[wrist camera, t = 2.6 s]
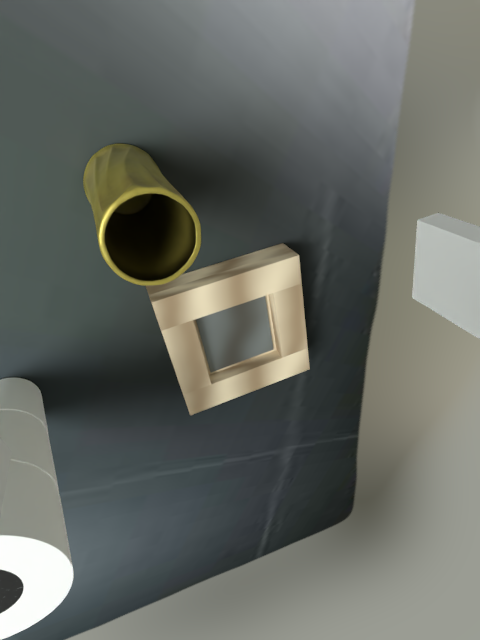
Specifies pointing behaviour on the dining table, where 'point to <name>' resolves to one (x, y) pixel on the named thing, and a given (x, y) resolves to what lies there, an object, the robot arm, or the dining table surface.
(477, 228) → the robot arm
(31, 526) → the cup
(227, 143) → the dining table surface
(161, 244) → the vase
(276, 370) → the square wooden frame
